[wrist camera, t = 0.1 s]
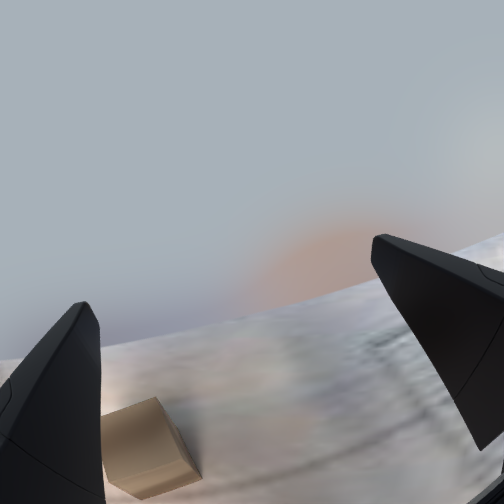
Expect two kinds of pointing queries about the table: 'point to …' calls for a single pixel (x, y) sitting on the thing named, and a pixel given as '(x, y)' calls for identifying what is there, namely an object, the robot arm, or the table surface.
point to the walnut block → (145, 451)
